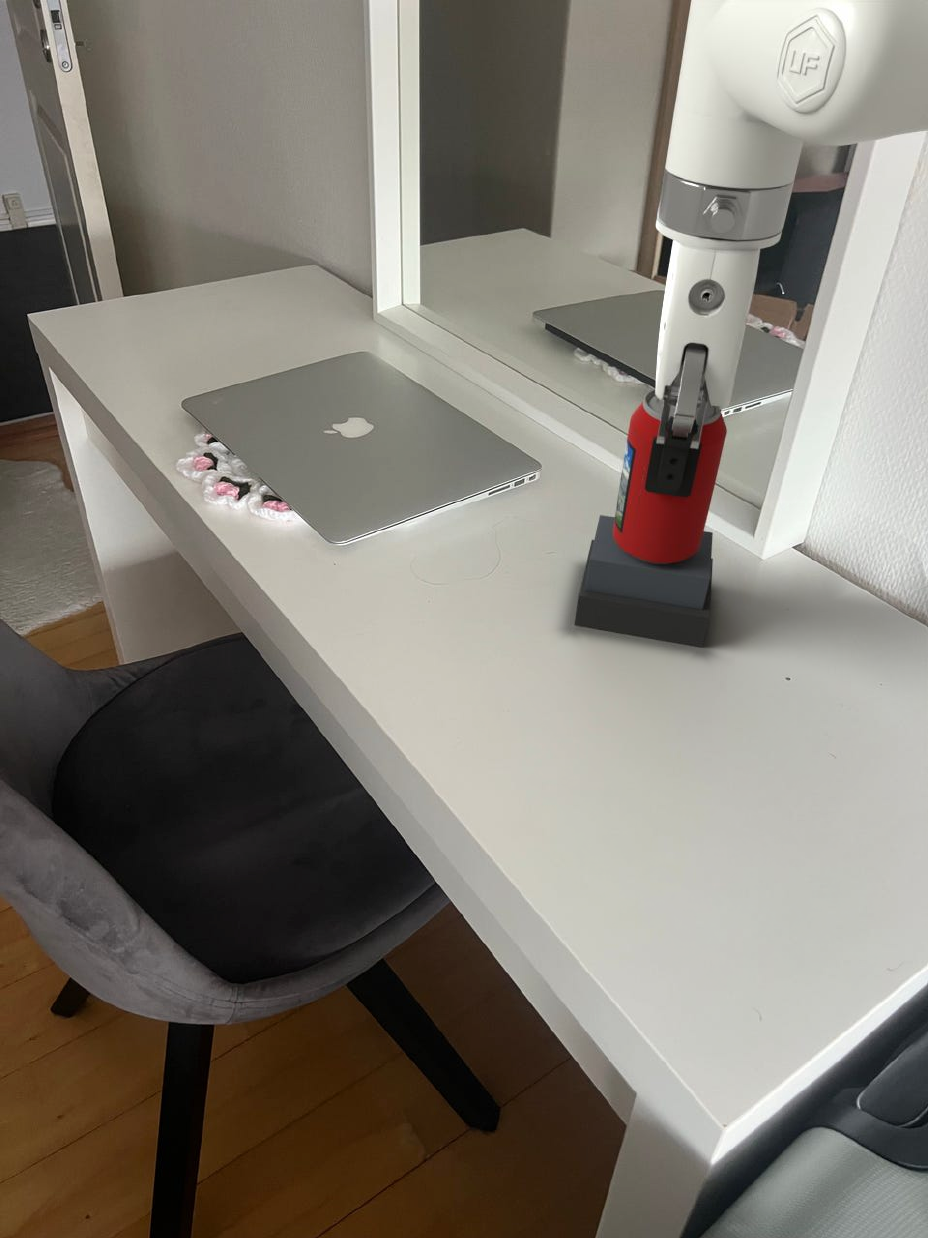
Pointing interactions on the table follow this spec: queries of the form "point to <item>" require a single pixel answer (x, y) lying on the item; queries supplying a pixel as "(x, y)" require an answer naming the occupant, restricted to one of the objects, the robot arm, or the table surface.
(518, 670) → the table surface
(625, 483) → the beverage can
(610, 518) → the pad top
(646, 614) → the pad base
